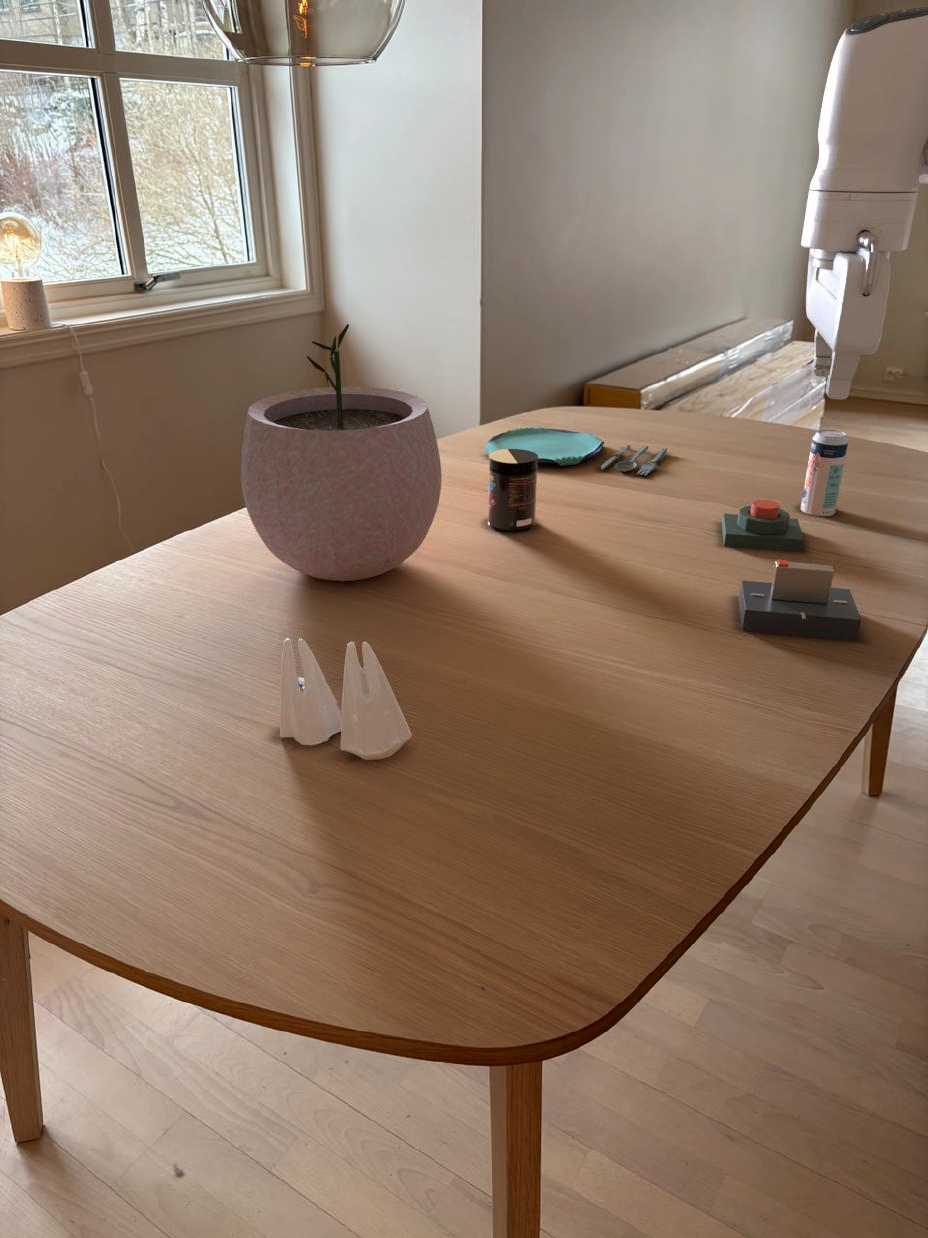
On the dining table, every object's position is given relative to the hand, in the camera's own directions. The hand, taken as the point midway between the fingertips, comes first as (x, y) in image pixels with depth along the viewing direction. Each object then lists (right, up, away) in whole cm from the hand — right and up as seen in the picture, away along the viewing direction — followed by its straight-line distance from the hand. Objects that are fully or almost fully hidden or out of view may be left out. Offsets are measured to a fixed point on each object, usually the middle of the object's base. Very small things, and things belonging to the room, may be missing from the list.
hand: (828, 385), depth 89 cm
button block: (+6, -11, +40) cm, 42 cm away
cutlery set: (-16, +6, +74) cm, 76 cm away
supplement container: (-28, -9, +45) cm, 53 cm away
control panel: (+3, -22, +18) cm, 29 cm away
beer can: (+18, -7, +50) cm, 54 cm away
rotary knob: (+3, -20, +17) cm, 26 cm away
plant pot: (-49, -16, +31) cm, 60 cm away
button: (+6, -8, +39) cm, 40 cm away
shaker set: (-45, -33, -4) cm, 56 cm away
